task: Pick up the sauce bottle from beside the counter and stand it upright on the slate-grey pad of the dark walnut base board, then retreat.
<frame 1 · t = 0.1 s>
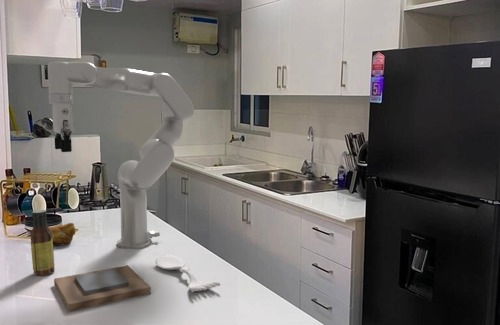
hand: (63, 150, 159), 37 cm above the worktop, tool pointing down, fingers open, 9 cm apart
double-ended spork: (183, 278, 145), on the worktop
sauce bottle: (43, 273, 147), on the worktop
bread roll: (56, 244, 176), on the worktop
walnut base: (101, 289, 135), on the worktop
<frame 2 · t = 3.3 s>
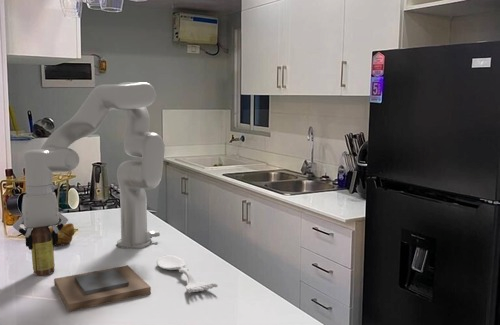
hand: (42, 246, 146), 9 cm above the worktop, tool pointing down, fingers closed on sauce bottle, 6 cm apart
sauce bottle: (43, 273, 147), on the worktop, touching gripper
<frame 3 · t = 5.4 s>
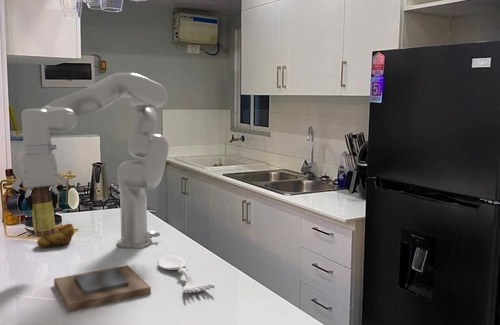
hand: (42, 207, 145), 21 cm above the worktop, tool pointing down, fingers closed on sauce bottle, 6 cm apart
sauce bottle: (44, 234, 146), point 12 cm above the worktop, touching gripper
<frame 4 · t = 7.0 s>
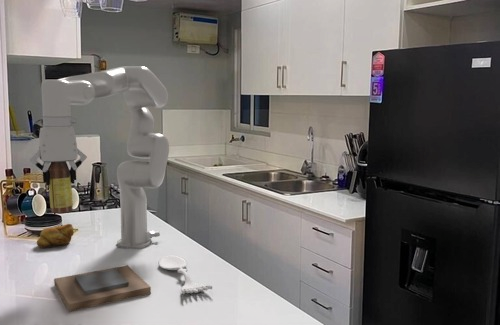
hand: (60, 183, 138), 29 cm above the worktop, tool pointing down, fingers closed on sauce bottle, 6 cm apart
sauce bottle: (61, 212, 140), point 21 cm above the worktop, touching gripper
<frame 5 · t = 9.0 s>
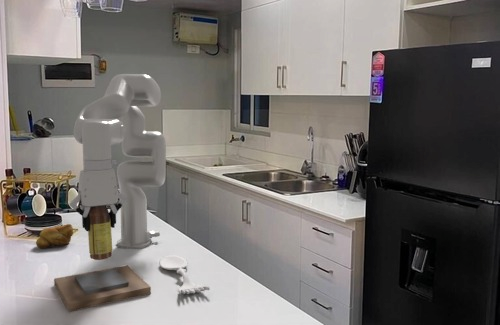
hand: (99, 227, 132), 18 cm above the worktop, tool pointing down, fingers closed on sauce bottle, 6 cm apart
sauce bottle: (100, 258, 134), point 9 cm above the worktop, touching gripper
when the fingers open (13 cm above the worktop, at t = 10.6 s): sauce bottle drops 1 cm, resting on walnut base.
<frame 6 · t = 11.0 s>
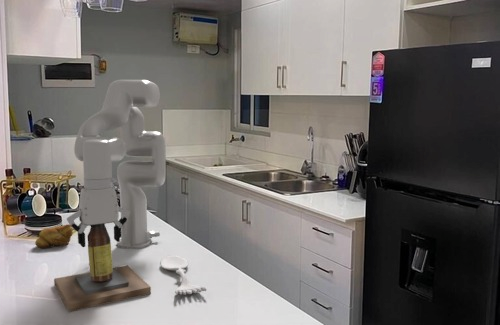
hand: (100, 243, 133), 14 cm above the worktop, tool pointing down, fingers open, 9 cm apart
sauce bottle: (101, 279, 135), point 3 cm above the worktop, touching walnut base
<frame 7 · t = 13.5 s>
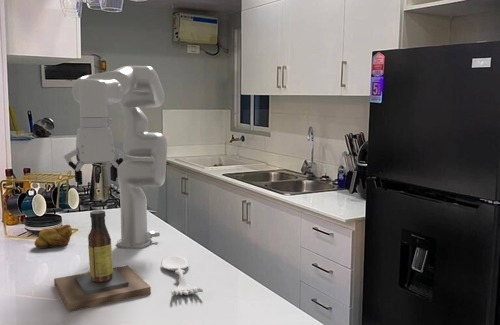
hand: (96, 182, 136), 30 cm above the worktop, tool pointing down, fingers open, 9 cm apart
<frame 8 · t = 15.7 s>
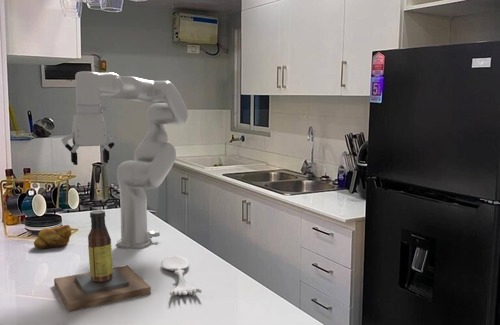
hand: (90, 163, 153), 33 cm above the worktop, tool pointing down, fingers open, 9 cm apart
at the end: sauce bottle inside the target area on the walnut base (0.2 cm from its centre), point 2.8 cm above the walnut base's base; sauce bottle tilted 0°; the gripper is holding nothing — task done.
